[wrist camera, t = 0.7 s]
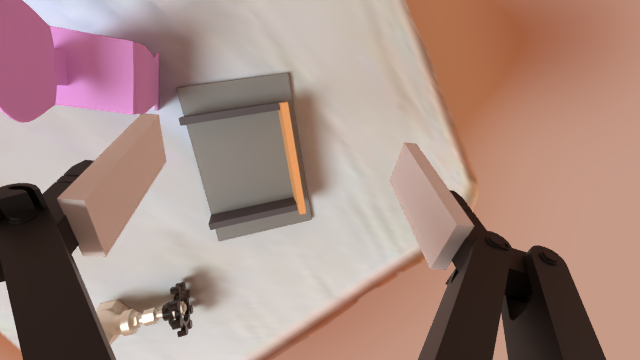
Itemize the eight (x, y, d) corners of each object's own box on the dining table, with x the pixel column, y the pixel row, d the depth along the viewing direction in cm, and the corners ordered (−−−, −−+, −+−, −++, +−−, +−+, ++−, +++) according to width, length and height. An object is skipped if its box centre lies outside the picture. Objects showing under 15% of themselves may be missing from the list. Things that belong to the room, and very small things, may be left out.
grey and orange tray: (177, 88, 34) (166, 87, 29) (287, 73, 36) (293, 70, 32) (219, 239, 40) (215, 258, 36) (310, 218, 43) (318, 233, 38)
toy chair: (163, 119, 35) (107, 137, 21) (75, 108, 32) (-55, 120, 18) (164, 44, 33) (104, 7, 19) (70, 26, 30) (-79, -31, 16)
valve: (104, 334, 40) (196, 310, 43) (79, 377, 34) (187, 346, 36) (86, 295, 38) (183, 271, 41) (56, 333, 32) (172, 303, 34)
